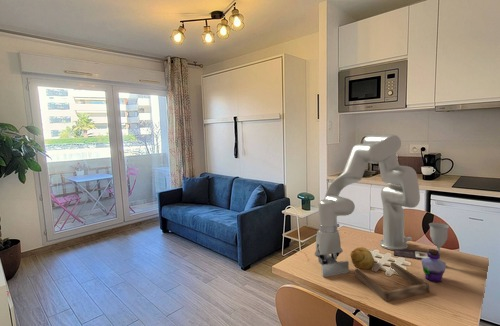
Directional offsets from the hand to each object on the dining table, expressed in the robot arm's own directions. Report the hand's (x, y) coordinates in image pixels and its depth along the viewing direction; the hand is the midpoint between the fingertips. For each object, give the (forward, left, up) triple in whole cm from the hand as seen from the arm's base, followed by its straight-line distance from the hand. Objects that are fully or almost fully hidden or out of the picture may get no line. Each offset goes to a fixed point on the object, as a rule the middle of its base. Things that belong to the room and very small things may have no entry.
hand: (329, 267), depth 122 cm
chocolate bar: (-44, +2, -1) cm, 44 cm away
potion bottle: (-34, +21, -1) cm, 40 cm away
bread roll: (-16, +1, -1) cm, 16 cm away
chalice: (-45, +13, -1) cm, 47 cm away
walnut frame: (-16, +18, 0) cm, 24 cm away
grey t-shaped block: (0, -1, 0) cm, 1 cm away
